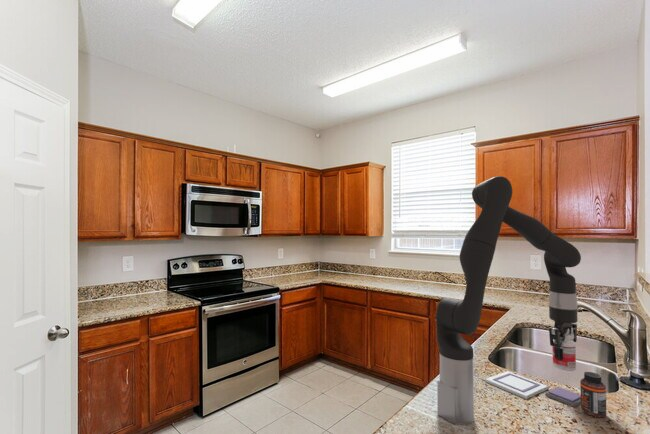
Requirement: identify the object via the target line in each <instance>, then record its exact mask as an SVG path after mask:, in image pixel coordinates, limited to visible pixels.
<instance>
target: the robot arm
mask: <svg viewBox="0 0 650 434" xmlns="http://www.w3.org/2000/svg"><path fill="white" fill-rule="evenodd" d="M471 197H472V200H473V202H474V204H475V205H477V206H478V207H479V208H481V211H480V214H479V215H478V217H476V220H474V222H473V224H472V225H471V227H470V228H469V230H468V231H467V232H466V234H465V237H464V239H463V242H462V245H461V249H460V253H459V261H460V262H459V263H460V265H461V269H462V271H463V274H464V278H465V284H466V286H465V293H464V297H463V300H462V299H457V298H451V297H443V298H442V299H440V300H439V302H438V304H437V307H436V311H435V323H436V324H435V325H436V342H437V345H438V348H439V380H438V381H437V415H438V416H440V417H441V418H444V419H445V420H447V421H449V422H450V423H452V424H453V425H460V424H461V425H467V424H471V423H472V422H474V420H475V407H474V406H475V405H474V404H475V403H474V402H475V400H474V399H475V393H474V391H475V388H474V383H475V382H474V377H475V376H474V371H475V370H474V365H475V363H474V348H473V346H472V345H471V344H470V343H469V342H468V341H466V340H465V338H463V336H461V334H462V335H466V336H472V335H473V334H475V333H476V331H477V330H478V327H479V325H480V321H481V317H482V310H483V302H484V298H485V291H486V286H487V281H488V278H489V277H488V276H489V273H490V269H491V266H492V262H493V260H494V255H495V252H496V248H497V242H498V238H499V236H500V232H501V228H502V224H506V225H507V226H508V227H510V228H512V230H514V231H515V232H517V233H518V234H519V235H520V236H522V238H524V239H525V240H526V241H527V242H528V243H529V244H530V245H531V246H533V248H535V249H537V250H540V251H543V252H544V253H543V261H544V266H545V269H546V272H547V273H546V274H547V275H548V277H549V295H548V316H549V319H550V320H551V321H554V323H553V324H554V326H553V327H551V326H549V327H548V333H549V334H548V335H549V345H550V346H551V347H552V346H553V347H554V356H555V359H557V360H560V361H562V360H563V346H564V343H565V342H566V340H567V335H568V334H572V337H573V339H572V341H573V342H574V343H577V341H578V340H577V339H578V337H577V335H578V324H577V323H578V299H577V287H576V286H577V285H576V284H577V282H576V278H575V277H574V275H572V274H570V273H568V271H567V268H575V267H576V266H578V265H580V263H581V260H582V255H581V253H580V251H579V249H577V247H576V246H574V245H573V244H571V243H570V242H569V241H567V240H565V239H564V238H563V237H560V236H558V235H556V234H555V233H553V231H552V230H550V229H549V228H548V227H547V226H545V224H543V223H542V222H541V221H539V220H538V219H536V218H535V217H533V216H530V215H528V214H526V213H524V212H520V211H518V210H517V209H515V208H513V207H511V206H509V205H510V203H511V200H512V197H513V186H512V183H511V181H510V180H509V179H508V178H507V177H505V176H501V175H497V176H494V177H490V178H489V179H487V180H484V181H482V182H480V183H479V184H477V185H475V186H474V187H473V189H472V191H471ZM560 337H563V338H560ZM553 339H554V342H553ZM560 341H561V343H560Z"/></svg>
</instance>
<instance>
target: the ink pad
mask: <svg viewBox="0 0 650 434" xmlns="http://www.w3.org/2000/svg"><path fill="white" fill-rule="evenodd" d="M545 396H546V397H548V398H549V399H553V400H556V401H557V402H561V403H562V404H565V405H568V406H571V407H573V408H575V407H577V406H580V405H581V393H577V392H574V391H571V390H568V389H566V388H563V387H560V386H557V387H555V388H553V389H550V390H548V391H546V392H545Z"/></svg>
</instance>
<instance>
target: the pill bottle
mask: <svg viewBox="0 0 650 434" xmlns="http://www.w3.org/2000/svg"><path fill="white" fill-rule="evenodd" d="M560 338H563V337H560ZM572 339H573V337H572V334H568V335H567V340H566V342H565V343H564V346H563V360H562V361H560V360H557V359H555V356H554V347H553V346H551V348H552V349H551V350H552V366H554V368H556V369H559V370H562V371H567V372H573V371H576V370H577V363H576V362H577V357H576V356H577V355H576V354H577V353H576V347H577V346H576V342H573V341H572ZM553 342H554V339H553ZM560 343H561V341H560Z"/></svg>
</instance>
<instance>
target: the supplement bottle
mask: <svg viewBox="0 0 650 434" xmlns="http://www.w3.org/2000/svg"><path fill="white" fill-rule="evenodd" d="M579 384H580V395H581V404H580V409H581V410H582V412H583V413H584V414H587V415H589V416H592V417H594V418H600V419H601V418H606V417H607V388H606V387H607V386H606V385H605V384H604V383H603V382H602V375H601V374H599V373H596V372H592V371H585V372H584V375H583V378H581V380H580V382H579Z"/></svg>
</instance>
